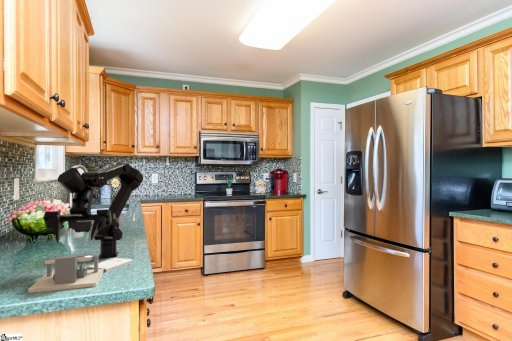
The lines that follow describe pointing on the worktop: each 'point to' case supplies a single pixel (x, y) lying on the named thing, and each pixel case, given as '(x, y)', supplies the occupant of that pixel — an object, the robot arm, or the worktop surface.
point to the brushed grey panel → (80, 258)
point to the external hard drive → (111, 264)
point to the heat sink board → (78, 284)
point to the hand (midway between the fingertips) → (74, 240)
